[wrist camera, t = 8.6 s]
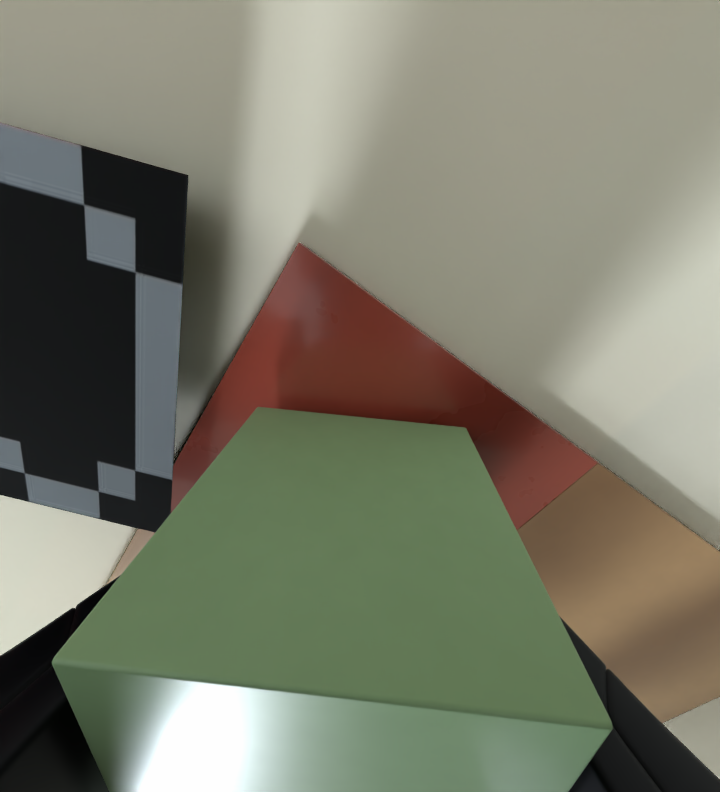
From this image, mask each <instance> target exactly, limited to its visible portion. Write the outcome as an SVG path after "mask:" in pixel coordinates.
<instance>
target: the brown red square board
mask: <svg viewBox="0 0 720 792" xmlns="http://www.w3.org/2000/svg"><path fill="white" fill-rule="evenodd" d="M257 407H265V408H275V409H285V410H295V411H305V412H315V413H325V414H335V415H345V416H355V417H365V418H375V419H385V420H395V421H405V422H415V423H425V424H435V425H445V426H455V427H464V428H466V429H467V431H468V433H469V435H470V437H471V439H472V441H473V443H474V445H475V447H476V449H477V451H478V453H479V455H480V457H481V459H482V461H483V463H484V465H485V467H486V469H487V471H488V473H489V475H490V477H491V479H492V482H493V484H494V486H495V488H496V490H497V492H498V494H499V496H500V498H501V500H502V502H503V504H504V506H505V508H506V510H507V512H508V514H509V516H510V518H511V520H512V522H513V524H514V526H515V528H516V530H517V532H518V534H519V536H520V538H521V540H522V542H523V544H524V546H525V548H526V550H527V552H528V554H529V556H530V558H531V560H532V562H533V564H534V566H535V568H536V570H537V572H538V574H539V576H540V578H541V580H542V582H543V584H544V586H545V588H546V590H547V592H548V594H549V596H550V598H551V601H552V603H553V605H554V607H555V609H556V611H557V613H558V615H559V616H560V617H561V618H562V619H563V620H564V621H565V622H566V623H567V625H568V626H569V627H570V628H571V629H572V630H573V631H574V632H575V633H576V634H577V635H578V636H579V637H580V638H581V639H582V640H583V641H584V643H585V644H586V645H587V646H588V647H589V648H590V649H591V650H592V651H593V652H594V653H595V654H596V655H597V656H598V657H599V658H600V659H601V661H602V662H603V663H604V664H605V665H606V669H610V670H611V671H612V672H613V673H614V674H615V675H616V676H617V677H618V678H619V679H620V680H621V682H622V683H623V684H624V685H625V686H626V687H627V688H628V689H629V690H630V691H631V692H632V693H633V694H634V695H635V696H636V697H637V698H638V699H639V700H640V701H641V702H642V703H643V704H644V705H645V706H646V708H647V709H648V710H649V711H650V712H651V713H652V714H653V715H654V716H655V717H656V718H657V719H658V720H659V721H660V722H661V723H664V722H666V721H668V720H670V719H672V718H674V717H677V716H679V715H681V714H683V713H685V712H687V711H690V710H692V709H694V708H696V707H698V706H700V705H703V704H705V703H707V702H709V701H711V700H713V699H716V698H718V697H720V551H719V550H718V549H716V548H715V547H713V546H712V545H711V544H709V543H708V542H707V541H705V540H704V539H703V538H701V537H700V536H698V535H697V534H696V533H694V532H693V531H692V530H690V529H689V528H688V527H686V526H685V525H684V524H682V523H681V522H679V521H678V520H677V519H675V518H674V517H673V516H671V515H670V514H669V513H667V512H666V511H665V510H663V509H662V508H660V507H659V506H658V505H656V504H655V503H654V502H652V501H651V500H650V499H648V498H647V497H646V496H644V495H643V494H641V493H640V492H639V491H637V490H636V489H635V488H633V487H632V486H631V485H629V484H628V483H627V482H625V481H624V480H622V479H621V478H620V477H618V476H617V475H616V474H614V473H613V472H612V471H610V470H609V469H608V468H606V467H605V466H603V465H602V464H601V463H599V462H598V461H597V460H595V459H594V458H593V457H591V456H590V455H588V454H587V453H586V452H584V451H583V450H582V449H580V448H579V447H578V446H576V445H575V444H574V443H572V442H571V441H569V440H568V439H567V438H565V437H564V436H563V435H561V434H560V433H559V432H557V431H556V430H555V429H553V428H552V427H550V426H549V425H548V424H546V423H545V422H544V421H542V420H541V419H540V418H538V417H537V416H536V415H534V414H533V413H531V412H530V411H529V410H527V409H526V408H525V407H523V406H522V405H521V404H519V403H518V402H517V401H515V400H514V399H512V398H511V397H510V396H508V395H507V394H506V393H504V392H503V391H502V390H500V389H499V388H498V387H496V386H495V385H493V384H492V383H491V382H489V381H488V380H487V379H485V378H484V377H483V376H481V375H480V374H478V373H477V372H476V371H474V370H473V369H472V368H470V367H469V366H468V365H466V364H465V363H464V362H462V361H461V360H459V359H458V358H457V357H455V356H454V355H453V354H451V353H450V352H449V351H447V350H446V349H445V348H443V347H442V346H440V345H439V344H438V343H436V342H435V341H434V340H432V339H431V338H430V337H428V336H427V335H426V334H424V333H423V332H421V331H420V330H419V329H417V328H416V327H415V326H413V325H412V324H411V323H409V322H408V321H407V320H405V319H404V318H402V317H401V316H400V315H398V314H397V313H396V312H394V311H393V310H392V309H390V308H389V307H387V306H386V305H385V304H383V303H382V302H381V301H379V300H378V299H377V298H375V297H374V296H373V295H371V294H370V293H368V292H367V291H366V290H364V289H363V288H362V287H360V286H359V285H358V284H356V283H355V282H354V281H352V280H351V279H349V278H348V277H347V276H345V275H344V274H343V273H341V272H340V271H339V270H337V269H336V268H335V267H333V266H332V265H330V264H329V263H328V262H326V261H325V260H324V259H322V258H321V257H320V256H318V255H317V254H316V253H314V252H313V251H311V250H310V249H309V248H307V247H306V246H305V245H303V244H302V243H298V244H297V246H296V248H295V250H294V252H293V253H292V255H291V257H290V259H289V260H288V262H287V264H286V266H285V268H284V269H283V271H282V273H281V275H280V276H279V278H278V280H277V282H276V284H275V285H274V287H273V289H272V291H271V292H270V294H269V296H268V298H267V300H266V301H265V303H264V305H263V307H262V309H261V310H260V312H259V314H258V316H257V317H256V319H255V321H254V323H253V325H252V326H251V328H250V330H249V332H248V333H247V335H246V337H245V339H244V341H243V342H242V344H241V346H240V348H239V349H238V351H237V353H236V355H235V357H234V358H233V360H232V362H231V364H230V365H229V367H228V369H227V371H226V373H225V374H224V376H223V378H222V380H221V381H220V383H219V385H218V387H217V389H216V390H215V392H214V394H213V396H212V397H211V399H210V401H209V403H208V405H207V406H206V408H205V410H204V412H203V413H202V415H201V417H200V419H199V421H198V422H197V424H196V426H195V428H194V429H193V431H192V433H191V435H190V437H189V438H188V440H187V442H186V444H185V445H184V447H183V449H182V451H181V453H180V454H179V456H178V458H177V460H176V461H175V463H174V465H173V480H172V499H171V513H172V511H173V510H174V509H175V508H176V506H177V505H178V504H179V503H180V502H181V500H182V499H183V498H184V497H185V495H186V494H187V493H188V492H189V490H190V489H191V488H192V487H193V486H194V484H195V483H196V482H197V481H198V479H199V478H200V477H201V476H202V475H203V473H204V472H205V471H206V470H207V468H208V467H209V466H210V465H211V463H212V462H213V461H214V460H215V459H216V457H217V456H218V455H219V454H220V452H221V451H222V450H223V449H224V447H225V446H226V445H227V444H228V443H229V441H230V440H231V439H232V438H233V436H234V435H235V434H236V433H237V431H238V430H239V429H240V428H241V427H242V425H243V424H244V423H245V422H246V420H247V419H248V418H249V417H250V415H251V414H252V413H253V412H254V411H255V409H256V408H257ZM154 534H155V532H151V531H147V530H143V529H137V531H136V533H135V534H134V536H133V538H132V540H131V542H130V543H129V545H128V547H127V549H126V550H125V552H124V554H123V556H122V558H121V559H120V561H119V563H118V565H117V566H116V568H115V570H114V572H113V574H112V575H111V577H110V579H109V581H108V582H107V584H108V583H110V582H111V581H113V580H114V579H116V578H117V577H118V576H120V575H121V574H122V573H123V572H124V570H125V569H126V568H127V567H128V565H129V564H130V563H131V562H132V561H133V559H134V558H135V557H136V556H137V554H138V553H139V552H140V551H141V550H142V548H143V547H144V546H145V545H146V543H147V542H148V541H149V540H150V538H151V537H152V536H153V535H154ZM107 584H106V585H107Z"/></svg>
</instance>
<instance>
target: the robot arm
mask: <svg viewBox="0 0 720 792" xmlns="http://www.w3.org/2000/svg"><path fill="white" fill-rule="evenodd" d="M119 577H120V576H118V577H117V578H116V579H114V580H113V581H111V582H110V583H108V584H107V585H105V586H104V587H102V588H101V589H99V590H98V591H97V592H95V593H94V594H92V595H91V596H89V597H88V598H86V599H85V600H83V601H82V602H80V603H79V604H78V605H77V606H76V609H75V608H72V609H70V610H69V611H67V612H66V613H64V614H63V615H61V616H60V617H58V618H57V619H55V620H54V621H52V622H51V623H50V624H48V625H47V626H45V627H44V628H42V629H41V630H39V631H38V632H36V633H35V634H33V635H31V636H30V637H28V638H27V639H25V640H24V641H22V642H21V643H19V644H18V645H16V646H15V647H13V648H12V649H10V650H9V651H7V652H6V653H4V654H2V655H1V656H0V792H109V790H108V788H107V786H106V783H105V781H104V779H103V777H102V775H101V772H100V770H99V768H98V766H97V763H96V761H95V759H94V757H93V754H92V752H91V750H90V748H89V746H88V743H87V741H86V739H85V737H84V734H83V732H82V730H81V728H80V726H79V723H78V721H77V719H76V717H75V714H74V712H73V710H72V708H71V705H70V703H69V701H68V699H67V697H66V694H65V692H64V690H63V688H62V685H61V683H60V681H59V679H58V677H57V674H56V672H55V670H54V668H53V665H52V660H53V658H54V656H55V655H56V654H57V653H58V652H59V650H60V649H61V648H62V647H63V645H64V644H65V643H66V642H67V640H68V639H69V638H70V637H71V636H72V634H73V633H74V632H75V631H76V629H77V628H78V627H79V626H80V625H81V623H82V622H83V621H84V620H85V618H86V617H87V616H88V615H89V613H90V612H91V611H92V610H93V609H94V607H95V606H96V605H97V604H98V602H99V601H100V600H101V599H102V597H103V596H104V595H105V594H106V593H107V591H108V590H109V589H110V588H111V586H112V585H113V584H114V583H115V581H116V580H117V579H118V578H119ZM559 617H560V616H559ZM560 619H561V621H562V623H563V625H564V627H565V629H566V631H567V633H568V635H569V637H570V639H571V641H572V643H573V645H574V647H575V649H576V651H577V653H578V655H579V657H580V659H581V661H582V663H583V665H584V667H585V669H586V671H587V673H588V675H589V677H590V679H591V681H592V683H593V685H594V687H595V689H596V691H597V693H598V695H599V697H600V699H601V701H602V703H603V705H604V707H605V709H606V711H607V713H608V715H609V718H610V720H611V722H612V726H613V729H612V731H611V732H610V734H609V735H608V736H607V738H606V739H605V741H604V742H603V744H602V745H601V746H600V748H599V749H598V751H597V752H596V753H595V755H594V756H593V758H592V759H591V761H590V762H589V763H588V765H587V766H586V768H585V769H584V771H583V772H582V773H581V775H580V776H579V778H578V779H577V780H576V782H575V783H574V785H573V786H572V788H571V789H570V790H569V792H720V779H719V778H718V777H717V776H715V775H714V774H713V773H712V772H711V771H710V770H709V769H708V768H707V767H706V766H705V765H704V764H703V763H702V762H701V761H700V760H699V759H698V758H697V757H696V756H695V755H694V754H693V753H692V752H691V751H690V750H689V749H688V748H687V747H686V746H684V745H683V744H682V743H681V742H680V741H679V740H678V739H677V738H676V737H675V736H674V735H673V734H672V733H671V732H670V731H669V730H668V729H667V728H666V727H665V726H664V725H663V724H662V723H661V722H660V721H659V720H658V719H657V718H656V717H655V716H654V715H653V714H652V713H651V712H650V711H649V710H648V709H647V708H646V706H645V705H644V704H643V703H642V702H641V701H640V700H639V699H638V698H637V697H636V696H635V695H634V694H633V693H632V692H631V691H630V690H629V689H628V688H627V687H626V686H625V685H624V684H623V683H622V682H621V680H620V679H619V678H618V677H617V676H616V675H615V674H614V673H613V672H612V671H611V670H610V669H606V665H605V664H604V663H603V662H602V661H601V659H600V658H599V657H598V656H597V655H596V654H595V653H594V652H593V651H592V650H591V649H590V648H589V647H588V646H587V645H586V644H585V643H584V641H583V640H582V639H581V638H580V637H579V636H578V635H577V634H576V633H575V632H574V631H573V630H572V629H571V628H570V627H569V626H568V625H567V623H566V622H565V621H564V620H563V619H562V618H561V617H560Z"/></svg>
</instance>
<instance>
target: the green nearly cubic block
mask: <svg viewBox="0 0 720 792" xmlns="http://www.w3.org/2000/svg"><path fill="white" fill-rule="evenodd" d="M52 665H53V668H54V670H55V672H56V674H57V677H58V679H59V681H60V683H61V685H62V688H63V690H64V692H65V694H66V697H67V699H68V701H69V703H70V705H71V708H72V710H73V712H74V714H75V717H76V719H77V721H78V723H79V726H80V728H81V730H82V732H83V734H84V737H85V739H86V741H87V743H88V746H89V748H90V750H91V752H92V754H93V757H94V759H95V761H96V763H97V766H98V768H99V770H100V772H101V775H102V777H103V779H104V781H105V783H106V786H107V788H108V790H109V792H569V790H570V789H571V788H572V786H573V785H574V783H575V782H576V780H577V779H578V778H579V776H580V775H581V773H582V772H583V771H584V769H585V768H586V766H587V765H588V763H589V762H590V761H591V759H592V758H593V756H594V755H595V753H596V752H597V751H598V749H599V748H600V746H601V745H602V744H603V742H604V741H605V739H606V738H607V736H608V735H609V734H610V732H611V731H612V729H613V726H612V722H611V720H610V718H609V715H608V713H607V711H606V709H605V707H604V705H603V703H602V701H601V699H600V697H599V695H598V693H597V691H596V689H595V687H594V685H593V683H592V681H591V679H590V677H589V675H588V673H587V671H586V669H585V667H584V665H583V663H582V661H581V659H580V657H579V655H578V653H577V651H576V649H575V647H574V645H573V643H572V641H571V639H570V637H569V635H568V633H567V631H566V629H565V627H564V625H563V623H562V621H561V619H560V617H559V615H558V613H557V611H556V609H555V607H554V605H553V603H552V601H551V598H550V596H549V594H548V592H547V590H546V588H545V586H544V584H543V582H542V580H541V578H540V576H539V574H538V572H537V570H536V568H535V566H534V564H533V562H532V560H531V558H530V556H529V554H528V552H527V550H526V548H525V546H524V544H523V542H522V540H521V538H520V536H519V534H518V532H517V530H516V528H515V526H514V524H513V522H512V520H511V518H510V516H509V514H508V512H507V510H506V508H505V506H504V504H503V502H502V500H501V498H500V496H499V494H498V492H497V490H496V488H495V486H494V484H493V482H492V479H491V477H490V475H489V473H488V471H487V469H486V467H485V465H484V463H483V461H482V459H481V457H480V455H479V453H478V451H477V449H476V447H475V445H474V443H473V441H472V439H471V437H470V435H469V433H468V431H467V429H466V428H464V427H455V426H445V425H435V424H425V423H415V422H405V421H395V420H385V419H375V418H365V417H355V416H345V415H335V414H325V413H315V412H305V411H295V410H285V409H275V408H265V407H257V408H256V409H255V411H254V412H253V413H252V414H251V415H250V417H249V418H248V419H247V420H246V422H245V423H244V424H243V425H242V427H241V428H240V429H239V430H238V431H237V433H236V434H235V435H234V436H233V438H232V439H231V440H230V441H229V443H228V444H227V445H226V446H225V447H224V449H223V450H222V451H221V452H220V454H219V455H218V456H217V457H216V459H215V460H214V461H213V462H212V463H211V465H210V466H209V467H208V468H207V470H206V471H205V472H204V473H203V475H202V476H201V477H200V478H199V479H198V481H197V482H196V483H195V484H194V486H193V487H192V488H191V489H190V490H189V492H188V493H187V494H186V495H185V497H184V498H183V499H182V500H181V502H180V503H179V504H178V505H177V506H176V508H175V509H174V510H173V511H172V513H171V514H170V515H169V516H168V518H167V519H166V520H165V521H164V522H163V524H162V525H161V526H160V527H159V529H158V530H157V531H156V532H155V534H154V535H153V536H152V537H151V538H150V540H149V541H148V542H147V543H146V545H145V546H144V547H143V548H142V550H141V551H140V552H139V553H138V554H137V556H136V557H135V558H134V559H133V561H132V562H131V563H130V564H129V565H128V567H127V568H126V569H125V570H124V572H123V573H122V574H121V575H120V577H119V578H118V579H117V580H116V581H115V583H114V584H113V585H112V586H111V588H110V589H109V590H108V591H107V593H106V594H105V595H104V596H103V597H102V599H101V600H100V601H99V602H98V604H97V605H96V606H95V607H94V609H93V610H92V611H91V612H90V613H89V615H88V616H87V617H86V618H85V620H84V621H83V622H82V623H81V625H80V626H79V627H78V628H77V629H76V631H75V632H74V633H73V634H72V636H71V637H70V638H69V639H68V640H67V642H66V643H65V644H64V645H63V647H62V648H61V649H60V650H59V652H58V653H57V654H56V655H55V656H54V658H53V660H52Z"/></svg>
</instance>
